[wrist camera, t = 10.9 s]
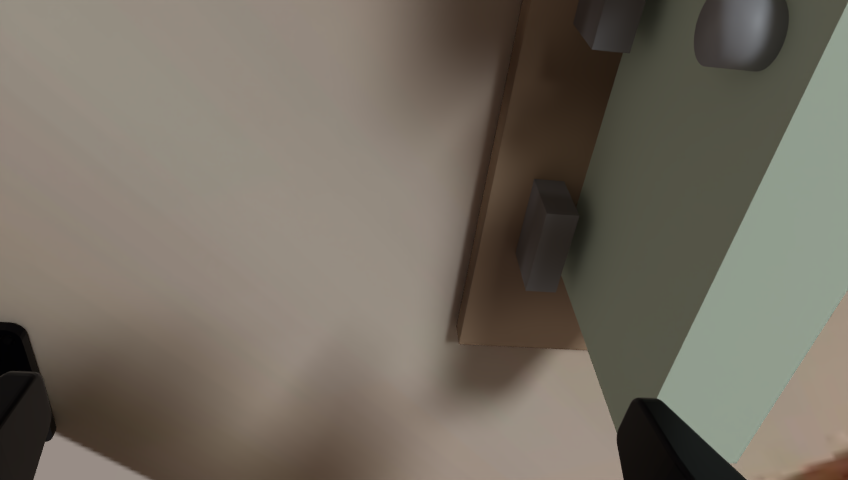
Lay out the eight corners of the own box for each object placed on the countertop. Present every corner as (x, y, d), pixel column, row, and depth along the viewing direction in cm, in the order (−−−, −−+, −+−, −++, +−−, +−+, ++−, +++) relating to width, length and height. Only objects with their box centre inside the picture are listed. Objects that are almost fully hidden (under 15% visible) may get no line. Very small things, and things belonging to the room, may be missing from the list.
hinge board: (671, 336, 27) (700, 393, 25) (456, 326, 26) (464, 384, 24) (955, -272, 16) (1061, -278, 13) (590, -335, 15) (632, -352, 12)
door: (639, 271, 24) (736, 463, 17) (530, 264, 23) (589, 459, 17) (784, -96, 17) (1036, -4, 10) (633, -116, 16) (799, -32, 10)
